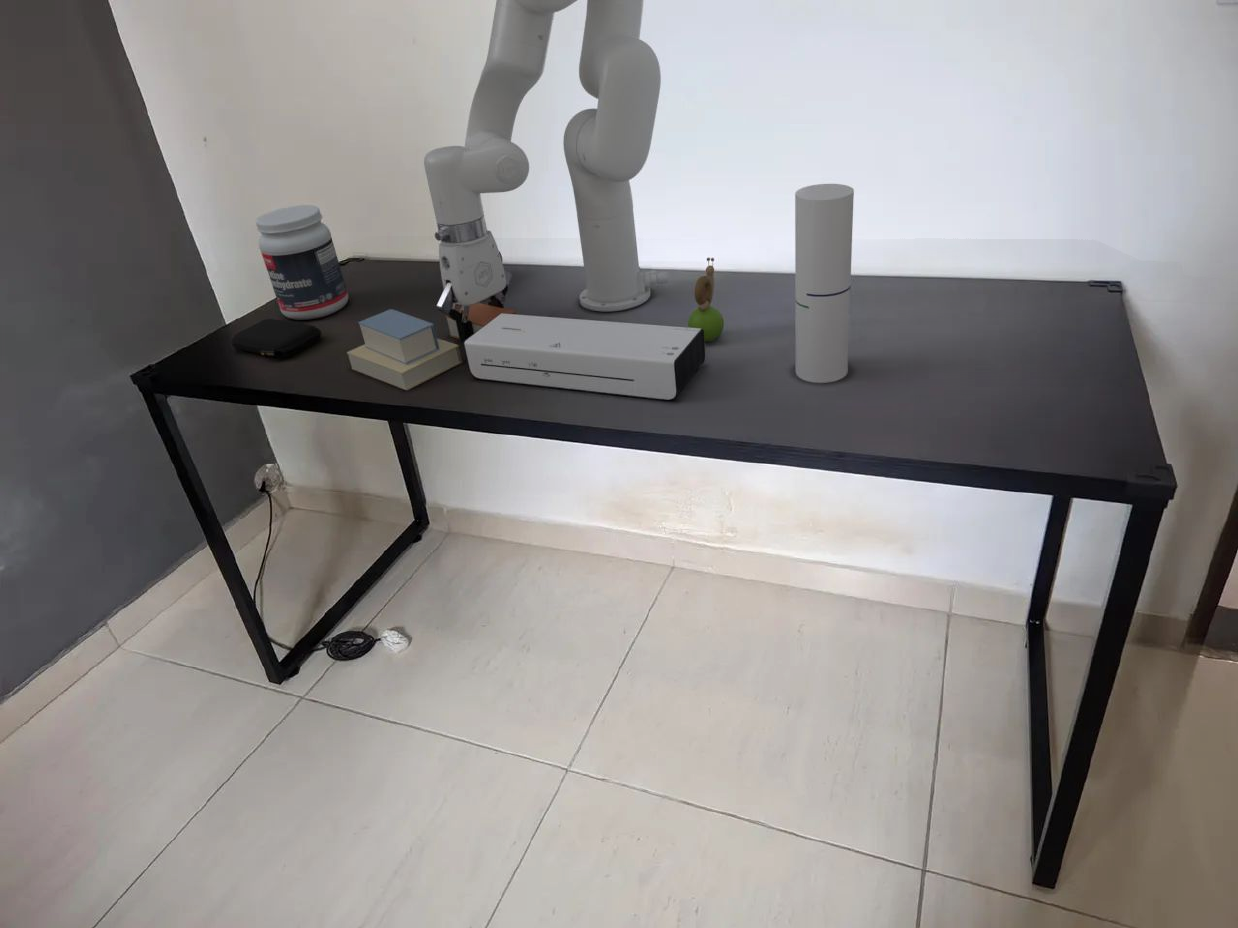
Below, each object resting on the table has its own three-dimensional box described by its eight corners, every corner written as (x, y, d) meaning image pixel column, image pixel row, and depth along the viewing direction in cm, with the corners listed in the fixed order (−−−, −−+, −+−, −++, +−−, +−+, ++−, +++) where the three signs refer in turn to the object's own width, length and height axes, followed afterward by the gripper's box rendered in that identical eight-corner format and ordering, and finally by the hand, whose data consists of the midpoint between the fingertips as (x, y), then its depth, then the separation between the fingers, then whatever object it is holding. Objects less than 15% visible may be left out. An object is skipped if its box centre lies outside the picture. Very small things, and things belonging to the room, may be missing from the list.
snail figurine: (731, 331, 136) (728, 257, 130) (717, 348, 132) (713, 273, 125) (698, 329, 139) (694, 256, 132) (684, 345, 134) (678, 271, 128)
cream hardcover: (462, 362, 138) (458, 345, 136) (406, 390, 131) (402, 372, 130) (406, 343, 147) (402, 327, 145) (351, 369, 140) (346, 352, 139)
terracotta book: (518, 332, 146) (514, 310, 144) (490, 347, 142) (486, 325, 140) (478, 322, 152) (473, 301, 150) (450, 336, 148) (445, 315, 146)
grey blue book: (439, 350, 136) (433, 323, 133) (406, 365, 132) (399, 338, 130) (397, 333, 143) (391, 308, 141) (365, 347, 140) (358, 322, 137)
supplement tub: (270, 324, 162) (236, 227, 152) (302, 298, 173) (273, 206, 163) (332, 322, 160) (302, 223, 150) (362, 295, 170) (335, 201, 160)
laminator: (470, 379, 132) (462, 342, 129) (511, 345, 141) (504, 309, 138) (678, 402, 119) (675, 361, 115) (708, 363, 128) (706, 324, 124)
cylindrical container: (837, 386, 118) (842, 201, 104) (787, 378, 121) (786, 198, 108) (854, 364, 122) (861, 185, 109) (806, 356, 126) (807, 182, 113)
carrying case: (224, 354, 152) (282, 365, 145) (218, 338, 150) (276, 348, 143) (271, 330, 159) (328, 339, 153) (266, 314, 158) (323, 323, 151)
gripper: (437, 249, 130) (461, 358, 139) (517, 216, 141) (535, 318, 150) (405, 244, 134) (430, 349, 143) (485, 211, 145) (504, 311, 154)
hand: (483, 332), depth 147 cm, fingers closed on terracotta book, 6 cm apart
